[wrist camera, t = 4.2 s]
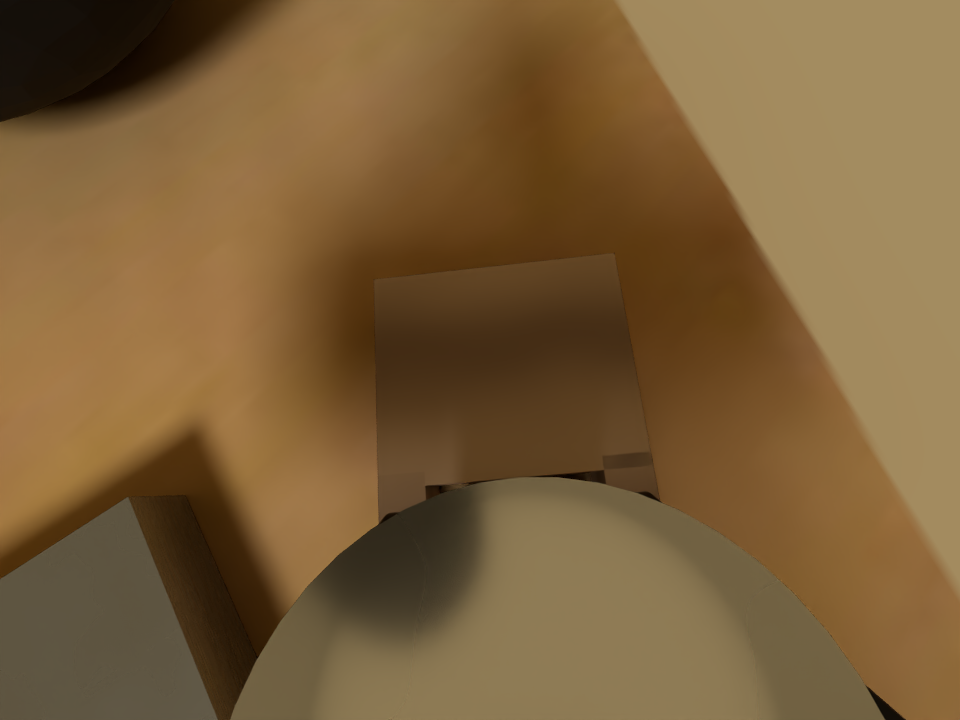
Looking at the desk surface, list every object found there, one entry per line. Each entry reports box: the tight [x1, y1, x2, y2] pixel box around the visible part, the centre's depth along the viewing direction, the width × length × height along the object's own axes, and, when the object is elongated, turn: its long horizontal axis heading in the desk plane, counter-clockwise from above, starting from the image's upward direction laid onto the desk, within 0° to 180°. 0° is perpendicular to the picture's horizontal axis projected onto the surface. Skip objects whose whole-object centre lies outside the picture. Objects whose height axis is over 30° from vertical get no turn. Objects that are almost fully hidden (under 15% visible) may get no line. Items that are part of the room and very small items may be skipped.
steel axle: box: [230, 477, 885, 720], centre depth 9 cm, size 4×4×13 cm
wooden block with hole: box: [374, 253, 660, 523], centre depth 14 cm, size 18×8×2 cm, turn 5°
